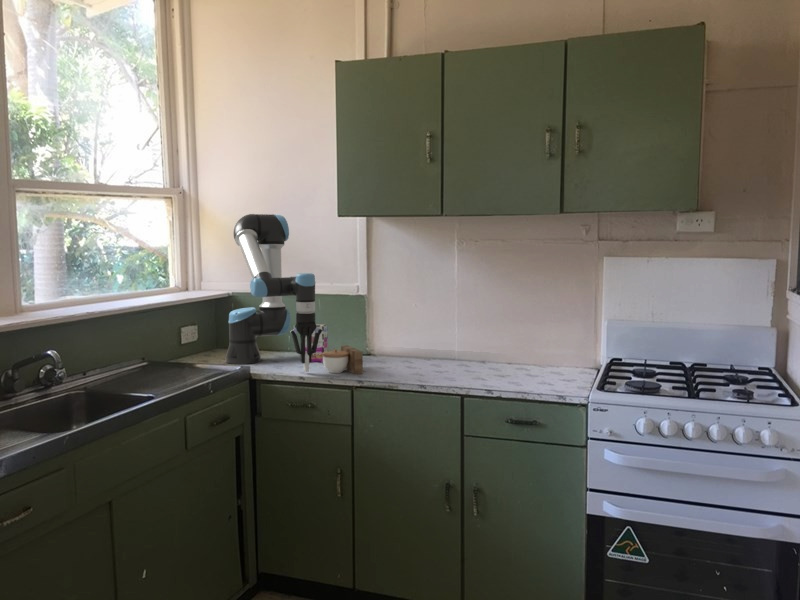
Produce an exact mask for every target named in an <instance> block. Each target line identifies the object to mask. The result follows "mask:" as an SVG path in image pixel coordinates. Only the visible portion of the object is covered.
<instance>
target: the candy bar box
mask: <svg viewBox="0 0 800 600" xmlns="http://www.w3.org/2000/svg"><path fill="white" fill-rule="evenodd" d="M316 326H317V328H319V329H321V330H322V332H321V334H320V336H319V340H318V345H317V349H316V353H313V354H312V355H311V363H323V356H322V353H323V352H327V351H329V347H328V345H329V343H328V341H329V339H328V335H329V334H328V324H325V323H324V324H321V323H320V324H319V323H318V324H317V323H316ZM315 333H316V332H315V331H314V332H313V334H312V338H311V340H312V345H313V341H314V336H315ZM305 354H307V337H306V338H305Z"/></svg>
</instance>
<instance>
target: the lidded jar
mask: <svg viewBox="0 0 800 600" xmlns="http://www.w3.org/2000/svg"><path fill="white" fill-rule="evenodd" d="M348 355H349V353H348V352H346V351H341V350H338V349H337V348H333V350H328V351H327V352H323V353H322V356H323V362H322V363H323V364H322V365H323V366H324V369H325V370H327V372H328V373H330V374H341V373H343V372H344V371H345V370H346V367H347V365H348V358H349V356H348Z"/></svg>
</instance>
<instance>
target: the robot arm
mask: <svg viewBox="0 0 800 600" xmlns="http://www.w3.org/2000/svg"><path fill="white" fill-rule="evenodd" d="M289 228H290V227H289V223H288V221H287V218H285V217H284V216H283V215H281V214H273V213H272V214H265V213H264V214H259V213H258V214H255V213H249V214H246V215H244V216H242V217H241V218H239V219H238V221H237V222H236V223H235V226H234V229H233V239H234V242H235V244H236V245H237V246H238V247H239V248H240V250H241V253H242V255H243V258H244V260H245V263H246V265H247V267H248V270H249V273H250V275H251V277H252V278H251V280H250V282H249V289H250V294H251V295H252V296H253V297H254V298H262V303H261V304H259V306H258V307H259V309H257V308H256V307H253V306H251V307H243V308H237V309H234V310H232V311H230V312H229V314H228V331H229V332H228V335H229V337H228V339H229V340H228V341H229V343H228V344H229V345H228V348H227V352H226V355H225V363H227V364H231V365H233V364H234V365H246V364H247V365H248V364H255V363H259V362H261V361H262V356H261V353H260V350H259V347H258V343H257V337H268V336H269V337H270V336H272V337H273V336H274V337H275V336H276V337H277V336H281V335H285V334H286V333H287V332H288V331H289V333H290V335H291V336H292V340H293V344H294V349H295V351H296V354H298V355H300V359H301V360H300V363H301V364H303V372H310V364H311V363H312V362H311V355H312V354H313V353H316V349H317V345H318V340H319V336H320V334H321V332H322V330H321V329H319V328H317V326H316V324H317V323H316V276H315V274H314V273H313V272H312V273H310V272H309V273H307V272H304V273H303V272H301V273H297V274H296V275H295V276H289V277H286V276H285V277H282V248H283V247H284V246H285V242H286V241H288V239H289V236H290V229H289ZM291 296H293V297H295V302H296V303H295V312H297V313H296V314H295V317H296V318H295V319H296V320H295V321H296V323H295V326H294V328H293V329H290V325H291V313H290V310H289V309H288V308H286V304H284V303H283V297H291ZM289 329H290V330H289ZM314 331H315V332H316V333H315V336H314V341H313V345H312V340H311V338H312V334H313V332H314ZM297 334H299V336H300V343H299V340H298V335H297ZM306 337H307V354H305V338H306Z"/></svg>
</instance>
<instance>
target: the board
mask: <svg viewBox="0 0 800 600" xmlns="http://www.w3.org/2000/svg"><path fill="white" fill-rule="evenodd" d="M340 351H346V352H348V353H349V355H348V356H349V358H348V365H347V367H346V369H345V370H346V371H348V372H350V373H351V374H353V375H363V374H364V371H363V369H364V368H363V367H364V365H363V362H364V358H363V357H364V355H363V351H362V350H359V349H358V348H354V347H353V346H351V345H348V344H347V345H340Z"/></svg>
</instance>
